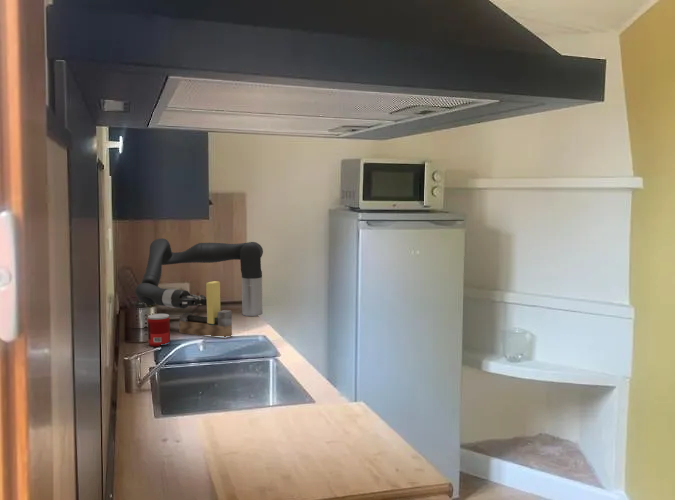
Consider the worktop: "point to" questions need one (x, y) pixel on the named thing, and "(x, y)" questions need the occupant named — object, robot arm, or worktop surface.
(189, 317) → the wooden rack
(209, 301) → the yellow rectangular block
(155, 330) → the canned food
